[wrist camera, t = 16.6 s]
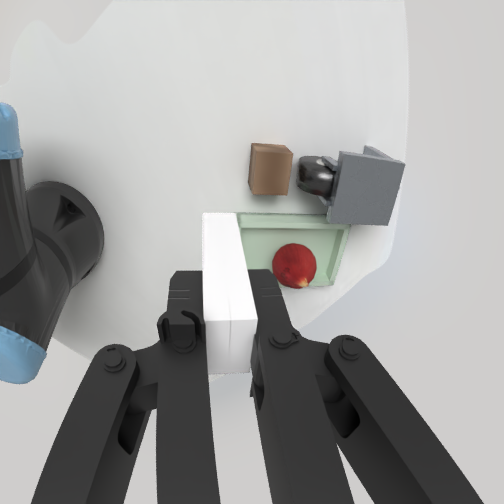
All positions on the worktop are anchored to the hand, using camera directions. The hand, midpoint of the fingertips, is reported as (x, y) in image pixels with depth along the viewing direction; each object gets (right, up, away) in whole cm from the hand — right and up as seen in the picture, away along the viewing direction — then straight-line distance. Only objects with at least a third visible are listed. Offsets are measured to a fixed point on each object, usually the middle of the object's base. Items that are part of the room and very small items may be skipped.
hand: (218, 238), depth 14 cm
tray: (+6, 0, +28) cm, 29 cm away
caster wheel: (+12, +10, +23) cm, 28 cm away
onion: (+7, 0, +28) cm, 29 cm away
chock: (+3, +10, +21) cm, 24 cm away
